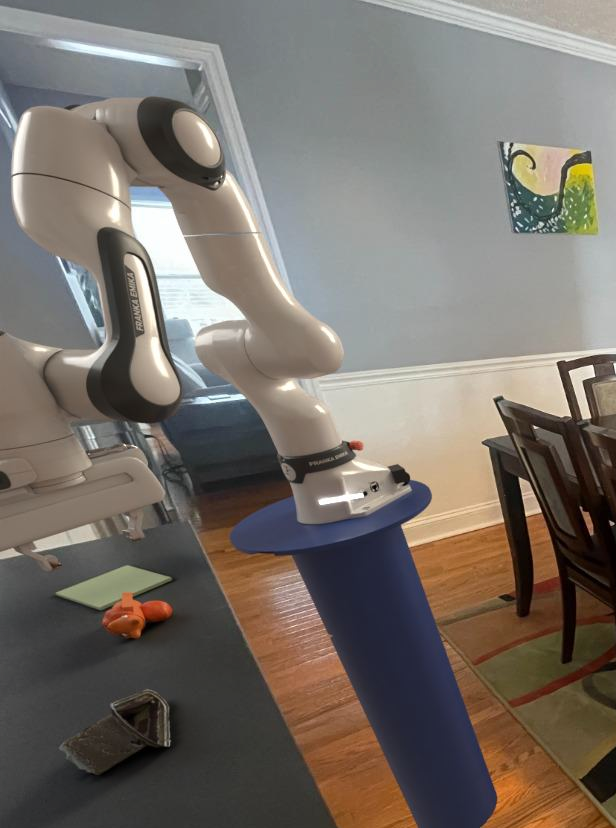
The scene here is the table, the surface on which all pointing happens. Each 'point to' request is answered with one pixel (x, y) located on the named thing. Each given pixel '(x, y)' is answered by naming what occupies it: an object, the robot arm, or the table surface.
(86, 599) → the place mat
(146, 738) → the brown hollow wedge shell
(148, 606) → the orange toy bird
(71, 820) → the table surface
